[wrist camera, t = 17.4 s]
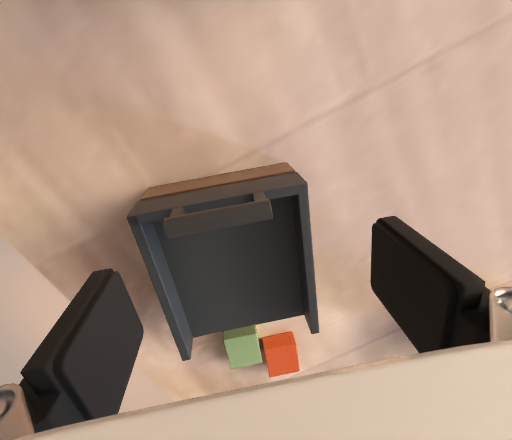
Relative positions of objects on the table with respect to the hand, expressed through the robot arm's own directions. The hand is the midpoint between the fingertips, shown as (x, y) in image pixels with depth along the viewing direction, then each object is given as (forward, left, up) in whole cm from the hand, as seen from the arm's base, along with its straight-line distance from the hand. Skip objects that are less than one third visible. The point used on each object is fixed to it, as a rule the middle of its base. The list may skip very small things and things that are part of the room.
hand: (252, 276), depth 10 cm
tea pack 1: (+22, -3, -17) cm, 28 cm away
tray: (+8, -2, -15) cm, 17 cm away
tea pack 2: (+25, +1, -17) cm, 30 cm away
